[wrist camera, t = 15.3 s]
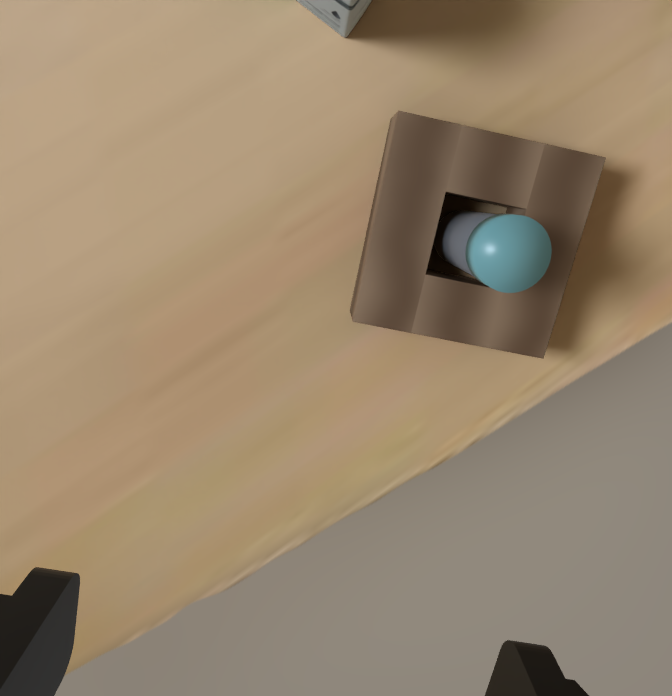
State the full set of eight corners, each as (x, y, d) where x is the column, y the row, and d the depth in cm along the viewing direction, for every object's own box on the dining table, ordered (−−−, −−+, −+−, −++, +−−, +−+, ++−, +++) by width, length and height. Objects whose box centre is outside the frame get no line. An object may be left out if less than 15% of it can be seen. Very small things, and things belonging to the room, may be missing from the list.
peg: (426, 259, 43) (465, 284, 31) (440, 203, 42) (486, 207, 30) (480, 270, 43) (538, 299, 32) (495, 215, 42) (561, 223, 31)
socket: (349, 310, 44) (352, 321, 40) (391, 118, 40) (398, 110, 36) (524, 344, 45) (543, 358, 41) (579, 160, 41) (605, 157, 38)
